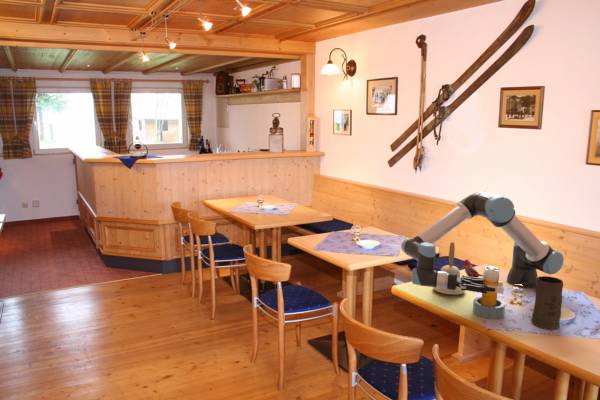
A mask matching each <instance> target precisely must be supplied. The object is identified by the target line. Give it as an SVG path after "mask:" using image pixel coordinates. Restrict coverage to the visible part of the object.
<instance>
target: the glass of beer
mask: <svg viewBox="0 0 600 400" xmlns="http://www.w3.org/2000/svg"><path fill="white" fill-rule="evenodd" d="M483 273H484V272H483ZM499 280H500V273H499V274H498V272H497V271H494V270H486V271H485V273H484V279H483V285H485V286H487V285H491V286H498V281H499ZM499 282H500V281H499ZM481 297H482V299H481V302H482V304H483V305H485V306H489V307H494V306H495V305H496V300H497V299H498V293H493V292H487V294H485V293H481Z"/></svg>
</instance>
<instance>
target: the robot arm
mask: <svg viewBox="0 0 600 400" xmlns="http://www.w3.org/2000/svg"><path fill="white" fill-rule="evenodd" d="M477 216H479V217H481V218H482V217H483V218H484V219H487V220H488V221H489V222H490V223H491V224H492V225H493V226H494V227H496V228H501V230H503V232H504V233H506V235H508V237H509V238H510V239H512V240H513V241H514V243H513V247H512V249H513V250H512V259H511V260H512V261H511V268H510V269H509V271H508V274H507V276H506V282H508V284H511V285H514V284H522V285H523V288H536V284H537V283H536V281H537V278H538V277H539V275H538V271H541V272H542V273H544V274H548V275H555V274H557V273H559V271H561V269H562V268H563V266H564V261H565V257H564V254H562V253H561V252H560V251H558V250H555V249H553V247H551V246H550V245H549V243H547V242H546V241H544V240H543V241H542V240H540V239H539V238H538V237H537V236H536V235H535V234H534V233H533V232H532V231H531V230H530V229H529V228H528V227H527V226H526V224H525V223H523V221H521V219H519V217H518V216H517V215H516V209H515V205H514V203H513V201H512V200H511V199H509V198H508V197H506V196H503V195H502V194H501V195H500V194H495V193H491V192H487V191H477V192H474V193H471V194H469V195H468V196H465V198H463V199H461V200H460V201H458V202H457V203H456V206H455V207H454V208H452V209H451V210H450V211H448V212H447V213H446V214H444V215H443V216H442V217H440V218H439V219H438V220H436V221H435V222H434V223H432V224H431V225H430V226H428V227H427V228H426V229H424V230H423V231H421V232H420V233H419V234H417V235H416V236H414V237H413V238H406V239H404V240H403V241H402V242H401V246H400V247H401V251H402V252H403V253H404V254H406V255H407V256H408V257H410V258H412V259H414V260H415V261H417V265H416V267H414V268H413V269H412V270H411V283H412V284H413V285H417V286H421V287H430V288H433V287H437V288H439V289H441V288H443V289H445V288H447V289H450V290H456V287H461V290H465V291H468V292H473V293H474V292H475V293H481V294H482V293H485V294H487V292H493V293H497V294H500V295H501V294H504V292H505V287H503V286H504V281H499V282H498V286H491V285H487V286H485V285H483V279H484V278H483V277H480V276H479V277H470V276H468V275H464V274H463V275H461V276H460V277H457V273H451V272H449V274H448V273H447V272H443V271H441V270H435V263H436V256H437V252H436V249H437V247H436V245H435V243H436V242H438V241H439V240H440V239H442V238H443V237H444V236H445V235H448V233H450V232H451V231H452V230H454V229H455V228H456V227H458V226H460V225H461V224H463V222H465V221H466V220H471V219H472V218H474V217H477ZM537 270H538V271H537ZM514 286H515V285H514Z"/></svg>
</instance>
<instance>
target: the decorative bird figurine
mask: <svg viewBox="0 0 600 400" xmlns="http://www.w3.org/2000/svg"><path fill="white" fill-rule="evenodd" d="M463 265H464V272H465V273H466V276H470V277H479V278H480V277H483V274H481V273H479V272H478V270H477V269H476V268H474V266H473V265H472V264H471V262H470V260H469V259H464V261H463Z"/></svg>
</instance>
